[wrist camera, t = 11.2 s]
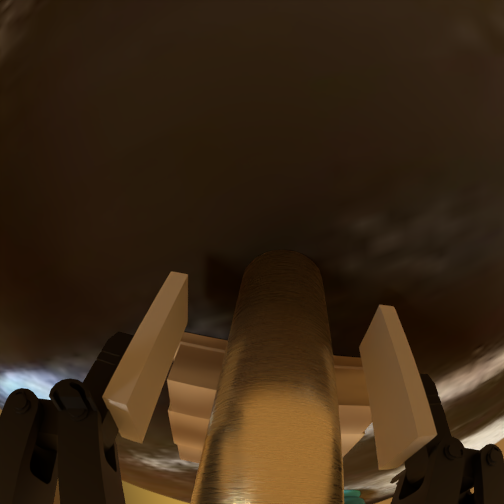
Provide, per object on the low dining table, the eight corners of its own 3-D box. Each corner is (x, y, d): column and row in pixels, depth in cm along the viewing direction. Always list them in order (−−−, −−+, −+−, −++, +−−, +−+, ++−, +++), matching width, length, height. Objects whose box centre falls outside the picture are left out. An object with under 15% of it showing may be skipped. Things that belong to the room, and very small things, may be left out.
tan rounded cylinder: (246, 243, 14) (175, 534, 4) (331, 257, 14) (373, 541, 3) (238, 309, 16) (187, 543, 6) (311, 320, 16) (315, 553, 5)
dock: (176, 330, 17) (148, 398, 13) (383, 359, 17) (399, 426, 12) (186, 447, 26) (175, 487, 22) (307, 463, 26) (306, 504, 21)
